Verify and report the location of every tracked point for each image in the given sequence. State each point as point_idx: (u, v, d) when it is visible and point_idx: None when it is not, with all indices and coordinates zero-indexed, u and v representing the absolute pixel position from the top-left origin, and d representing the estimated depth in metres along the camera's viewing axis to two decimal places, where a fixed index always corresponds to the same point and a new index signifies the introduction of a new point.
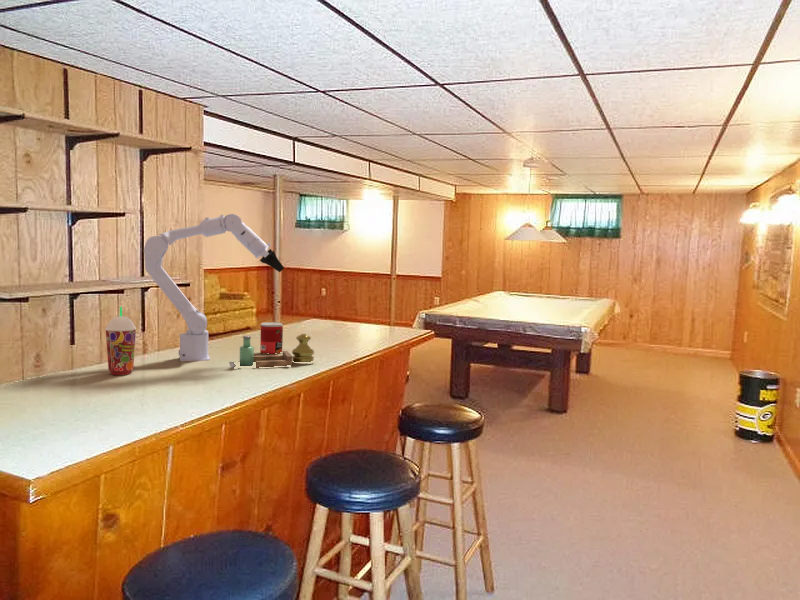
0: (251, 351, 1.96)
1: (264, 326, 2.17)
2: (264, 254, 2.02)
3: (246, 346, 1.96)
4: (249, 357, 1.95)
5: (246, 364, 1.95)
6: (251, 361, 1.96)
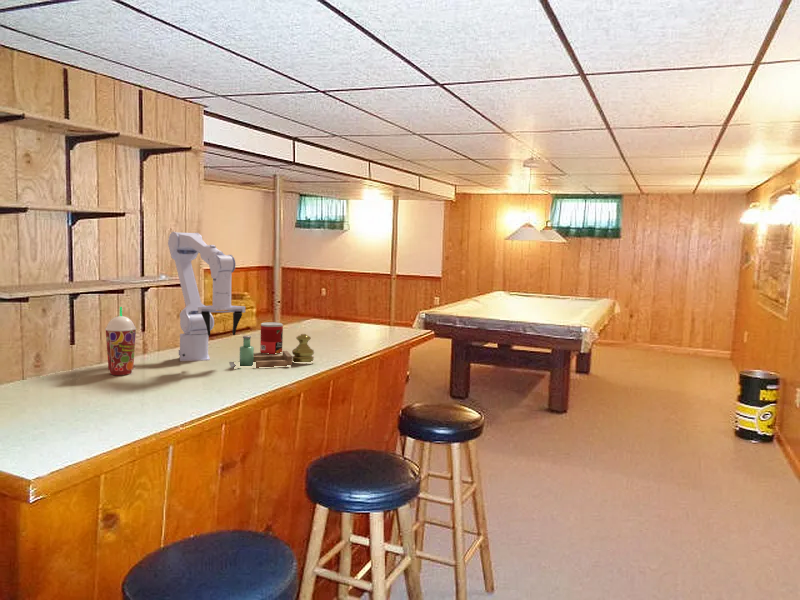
0: (251, 351, 1.96)
1: (264, 326, 2.17)
2: (197, 309, 1.91)
3: (246, 346, 1.96)
4: (249, 357, 1.95)
5: (246, 364, 1.95)
6: (251, 361, 1.96)
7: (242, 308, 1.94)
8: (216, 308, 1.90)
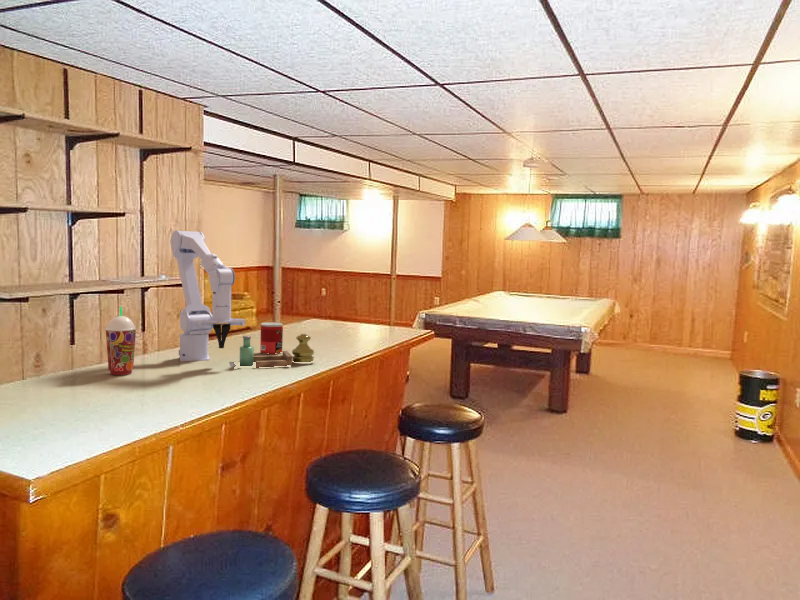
0: (251, 351, 1.96)
1: (264, 326, 2.17)
2: None
3: (246, 346, 1.96)
4: (249, 357, 1.95)
5: (246, 364, 1.95)
6: (251, 361, 1.96)
7: (242, 321, 1.94)
8: (216, 321, 1.90)
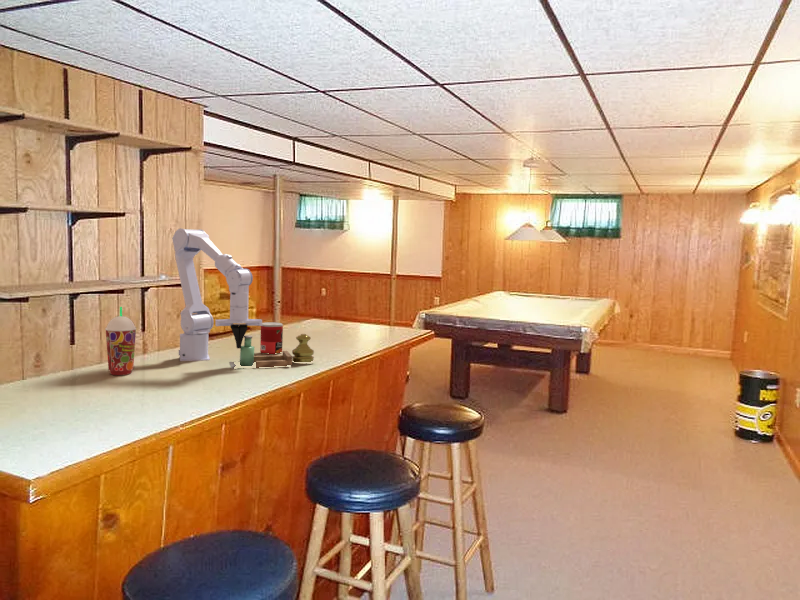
0: (252, 351, 1.96)
1: (264, 326, 2.17)
2: None
3: (247, 346, 1.96)
4: (249, 357, 1.95)
5: (246, 364, 1.95)
6: (251, 361, 1.96)
7: (259, 321, 1.96)
8: (233, 322, 1.92)
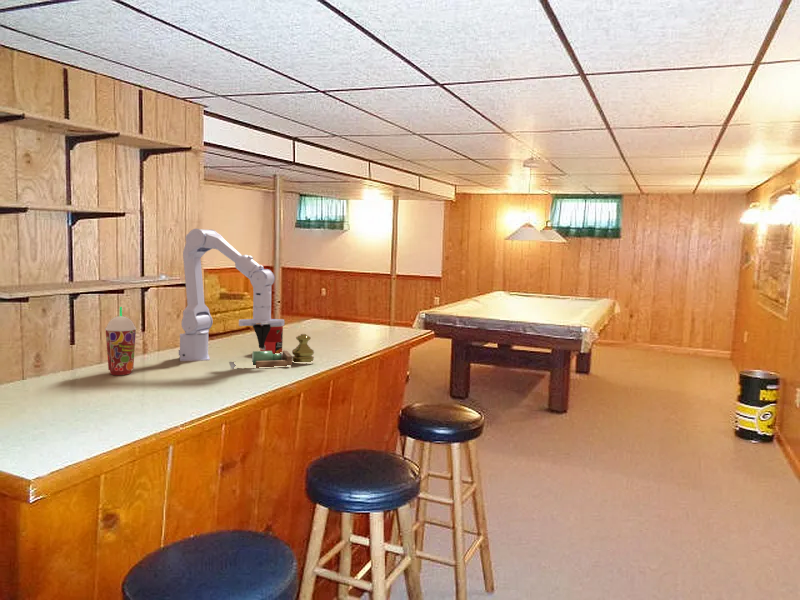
0: None
1: None
2: None
3: (273, 356, 2.00)
4: (263, 359, 1.98)
5: (256, 357, 1.97)
6: None
7: (281, 321, 1.99)
8: (257, 322, 1.95)
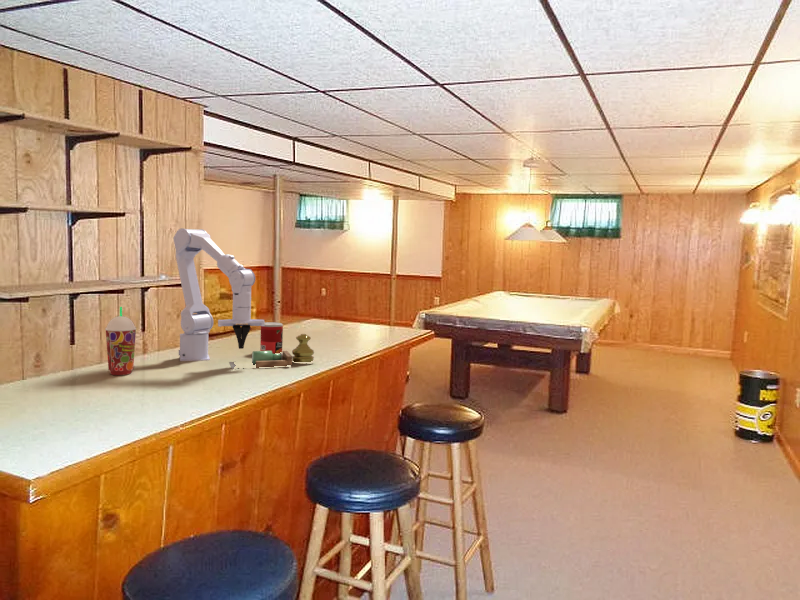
0: (268, 360, 1.99)
1: (264, 326, 2.17)
2: (218, 323, 1.93)
3: (273, 356, 2.00)
4: (263, 358, 1.98)
5: (256, 356, 1.97)
6: None
7: (261, 322, 1.97)
8: (236, 322, 1.92)
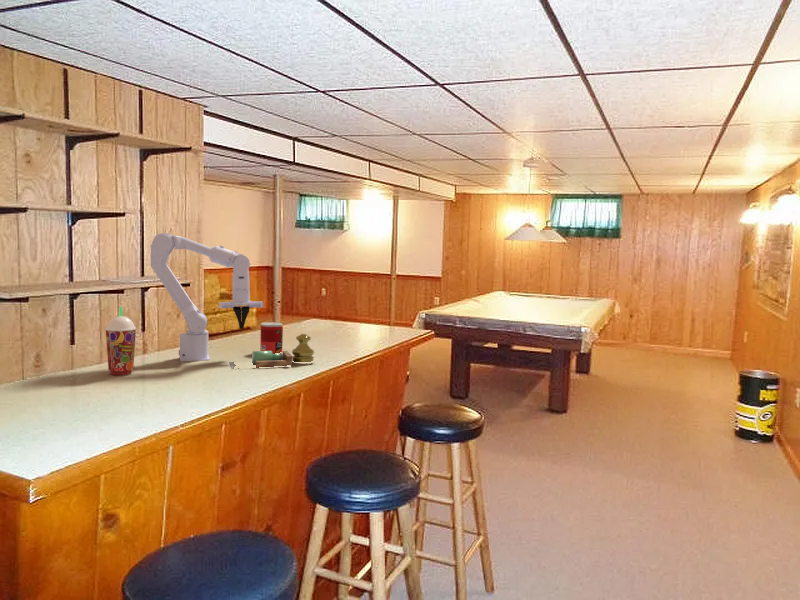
0: None
1: (264, 326, 2.17)
2: (219, 305, 2.06)
3: (273, 356, 2.00)
4: (263, 359, 1.98)
5: (256, 356, 1.97)
6: None
7: (260, 303, 2.09)
8: (236, 304, 2.05)
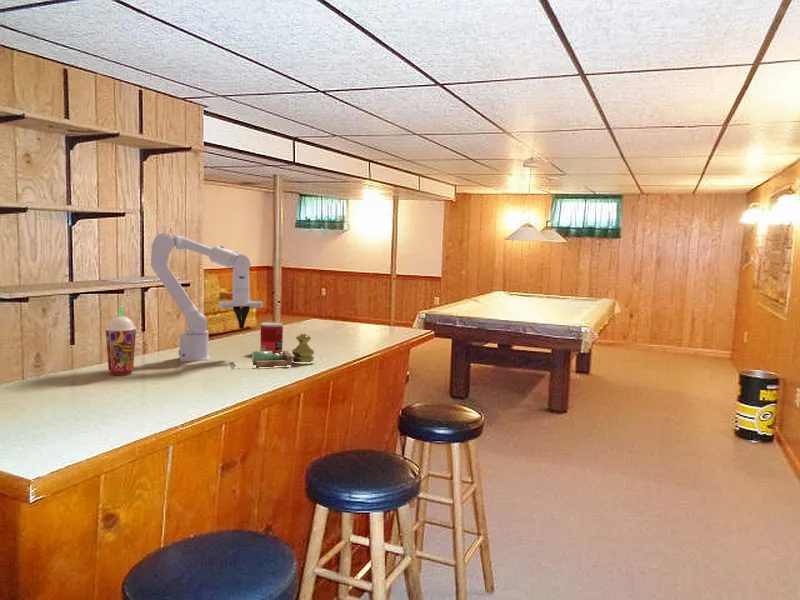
0: None
1: (264, 326, 2.17)
2: (219, 305, 2.06)
3: (273, 357, 2.00)
4: (263, 360, 1.97)
5: (256, 358, 1.96)
6: None
7: (260, 303, 2.10)
8: (236, 303, 2.05)
